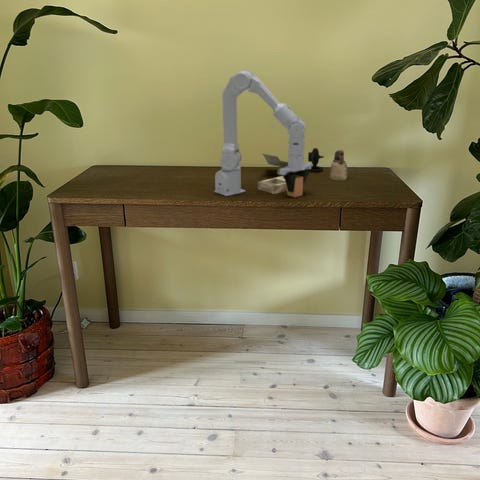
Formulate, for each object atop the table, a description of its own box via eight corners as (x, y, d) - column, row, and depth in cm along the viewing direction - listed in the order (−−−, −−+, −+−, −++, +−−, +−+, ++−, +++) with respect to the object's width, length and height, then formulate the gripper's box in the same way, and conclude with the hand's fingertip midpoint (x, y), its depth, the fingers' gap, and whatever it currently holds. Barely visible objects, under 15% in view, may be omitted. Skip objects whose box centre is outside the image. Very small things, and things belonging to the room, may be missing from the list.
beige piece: (273, 194, 182) (274, 186, 181) (258, 189, 188) (258, 181, 187) (299, 187, 190) (300, 179, 189) (283, 182, 197) (283, 175, 196)
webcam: (305, 168, 220) (306, 146, 216) (322, 168, 219) (323, 146, 215) (306, 172, 212) (307, 149, 209) (323, 172, 212) (325, 150, 208)
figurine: (344, 176, 206) (346, 148, 201) (348, 180, 199) (351, 151, 195) (328, 176, 206) (329, 148, 201) (331, 180, 199) (333, 151, 195)
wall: (260, 182, 215) (255, 164, 199) (267, 163, 218) (263, 144, 202) (301, 192, 210) (299, 174, 195) (307, 172, 213) (306, 153, 197)
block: (294, 197, 178) (295, 178, 175) (287, 194, 181) (287, 176, 178) (302, 195, 180) (303, 176, 178) (294, 192, 183) (295, 174, 181)
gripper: (289, 159, 168) (288, 196, 173) (318, 153, 176) (316, 189, 181) (275, 155, 173) (275, 192, 178) (303, 150, 181) (302, 185, 186)
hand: (295, 190), depth 180 cm, fingers closed on block, 4 cm apart
